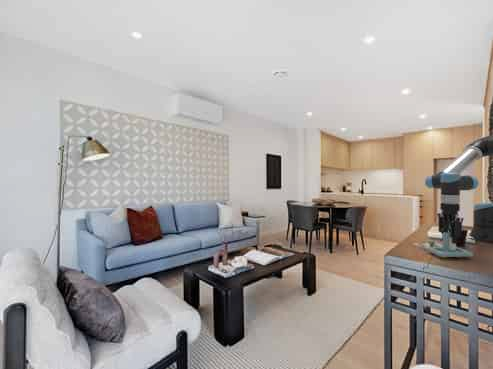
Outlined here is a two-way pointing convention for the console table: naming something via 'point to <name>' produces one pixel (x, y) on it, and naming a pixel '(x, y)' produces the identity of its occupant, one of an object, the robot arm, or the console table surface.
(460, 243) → the coffee mug
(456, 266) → the console table surface
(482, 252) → the console table surface
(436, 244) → the boss board
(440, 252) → the panel
